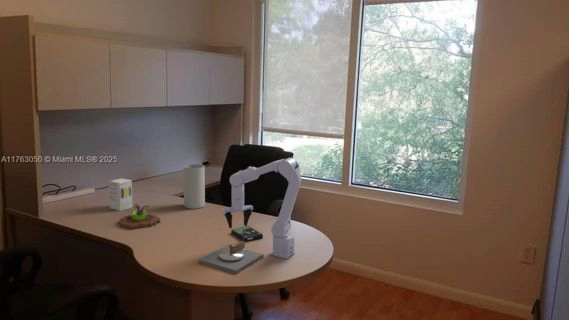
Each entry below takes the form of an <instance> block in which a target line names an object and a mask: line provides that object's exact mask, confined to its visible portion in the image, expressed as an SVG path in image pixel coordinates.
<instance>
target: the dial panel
mask: <svg viewBox="0 0 569 320" xmlns="http://www.w3.org/2000/svg"><path fill="white" fill-rule="evenodd" d="M229 245H230V244H226V245H224V246H222V247H220V248H219V249H216V250H214V251H212V252H210V253H208V254H207V255H204V256H202V257H201V258H199V259H198V263H199V264H202V265H206V266H209V267H212V268H216V269H219V270H222V271H225V272H228V273H232V274H235V275H238V274H239V273H241V272H242V271H243V270H245V269H247V268H249V267H250V266H251V265H254V264H255V263H257V262H259V261H260V260H262V259H264V254H263V253H259V252H256V251H252V250H248V249H246V248H244V249H242V251H243V252H244V258H243V259H241V260H239V261H233V262H229V261H223V260H221V259H220V258H219V253H220V252H221V251H223V250H226V249H230V248H229Z"/></svg>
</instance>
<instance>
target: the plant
mask: <svg viewBox="0 0 569 320" xmlns="http://www.w3.org/2000/svg"><path fill="white" fill-rule="evenodd" d="M146 207H147V209H149V210H150V209H151V206H149V205H144V206H142V208H140V205H139V204H137V203H134V204H132V208H134V209H137V211H136V210H133V211H132V212H131V214H128V215H125V216H122V217H120V218H119V226H120V227H121V226H122V227H121V228H122V229H128V230H138V229H145V228H151V227H154V226H157V225H158V224H160V223H161V218H160V217H159V216H156V215H155V214H151V213H147V210H145V208H146Z"/></svg>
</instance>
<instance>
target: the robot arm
mask: <svg viewBox="0 0 569 320" xmlns="http://www.w3.org/2000/svg"><path fill="white" fill-rule="evenodd" d="M269 172H276V173H279V174H280V175H281V176H282V177H284V178H285V179H286V180H287V182H288V186H287V187H286V188H287V189H286V191H285V195H284V198H283V201H282V203H281V204H282V205H281V208H280V211H279V214H278V216H277V218H276V220H275V222H274V224H273V225H272V226H271V229H270V231H271V234H272V251H270V252H268V255H270V256H275V257H278V258H281V259H285V260H286V259H288V258H290V257H291V256H293V255H295V254H296V252H295V237H292V236H291V235H290V232H289V230H290V229H291V226H292V225H291V219H292V217H291V216H292V213H293V212H292V211H293V209H294V205H295V203H296V200H297V197H298V194H299V190H300V188H301V184H302V174H301V171H300V163H299V162H298V161H297V160H296V158H293V157H288V158H282V159H279V160H274V161H272V162H270V163H267V164H265V165H262V166H260V167H255V166H248V167H247V168H246V169H244V170H241V169H240V170H238V171H237V172H235V173H233V174H231V175H230V177H229V183H230V186H231V206H230V207H225V208H222V214H223V216H225V218H226V222H227V224H228V228H229V229H233V224H232V223H233V214H232V213H240V212H243V226H244V227H245V226H248V222H249V219H250V217H251V215H252V213H253V210H254V206H253V205H251V204H249V205H245V184H247V183H249V182H253V181H256V180H257V179H259V177H260V176H261V175H264V174H268V173H269Z"/></svg>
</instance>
